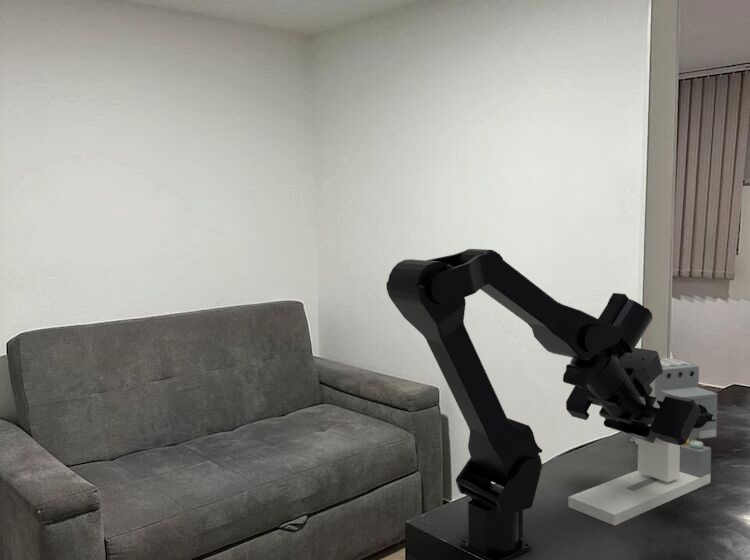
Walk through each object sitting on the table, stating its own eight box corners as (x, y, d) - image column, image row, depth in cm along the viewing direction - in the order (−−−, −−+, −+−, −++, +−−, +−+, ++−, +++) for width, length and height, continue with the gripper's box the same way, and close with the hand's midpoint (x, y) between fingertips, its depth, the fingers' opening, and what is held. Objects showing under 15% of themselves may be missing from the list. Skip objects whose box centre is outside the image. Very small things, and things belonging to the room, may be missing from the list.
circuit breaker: (684, 467, 113) (686, 377, 112) (630, 440, 127) (631, 360, 125) (723, 462, 115) (725, 373, 114) (665, 436, 129) (667, 357, 127)
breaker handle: (668, 482, 102) (669, 423, 101) (636, 472, 106) (637, 416, 105) (680, 477, 104) (681, 419, 103) (648, 467, 108) (649, 412, 107)
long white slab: (614, 525, 93) (615, 479, 92) (568, 507, 99) (568, 464, 98) (710, 482, 106) (711, 442, 106) (664, 468, 113) (665, 430, 112)
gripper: (694, 341, 91) (735, 408, 98) (577, 325, 106) (621, 384, 113) (659, 411, 87) (704, 475, 95) (543, 384, 102) (590, 441, 110)
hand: (652, 439), depth 103 cm, fingers closed, pressing on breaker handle
